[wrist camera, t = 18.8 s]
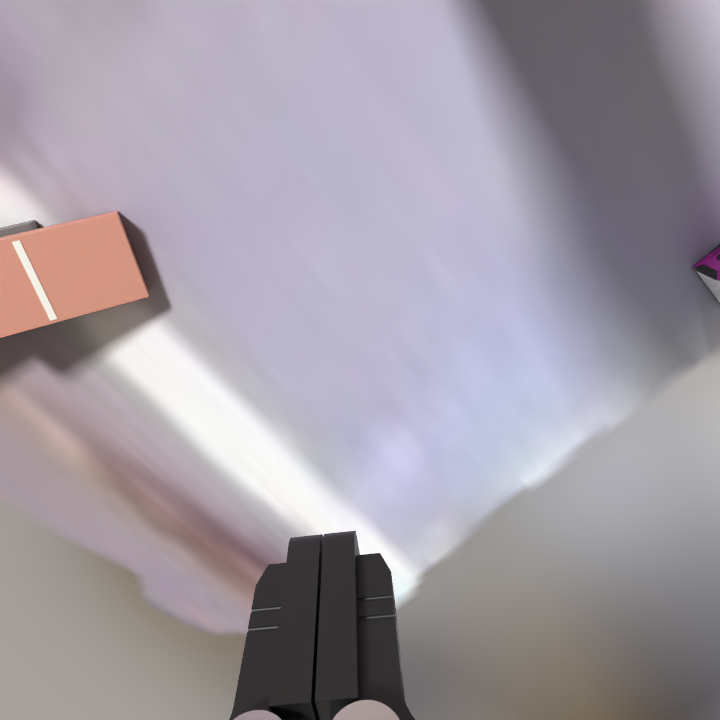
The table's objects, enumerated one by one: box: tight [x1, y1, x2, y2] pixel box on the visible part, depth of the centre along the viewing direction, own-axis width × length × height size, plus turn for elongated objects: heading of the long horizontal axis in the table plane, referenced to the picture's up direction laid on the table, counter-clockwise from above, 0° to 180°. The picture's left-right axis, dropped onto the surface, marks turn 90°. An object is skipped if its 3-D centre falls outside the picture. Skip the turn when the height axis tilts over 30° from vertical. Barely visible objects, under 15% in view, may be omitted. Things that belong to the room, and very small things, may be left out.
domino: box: [0, 211, 149, 338], centre depth 30 cm, size 2×5×11 cm
